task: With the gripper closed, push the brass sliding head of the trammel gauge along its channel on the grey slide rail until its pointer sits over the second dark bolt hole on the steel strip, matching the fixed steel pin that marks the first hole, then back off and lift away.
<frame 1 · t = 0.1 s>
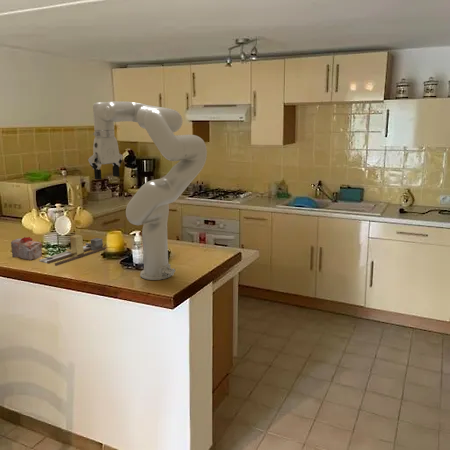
hand: (107, 177, 186), 37 cm above the table, tool pointing down, fingers open, 9 cm apart
grey slide rail: (73, 257, 203), on the table
tow hook: (148, 248, 218), on the table
food item: (27, 259, 202), on the table
sliding head: (73, 245, 202), point 6 cm above the table, slide at 0.0 cm
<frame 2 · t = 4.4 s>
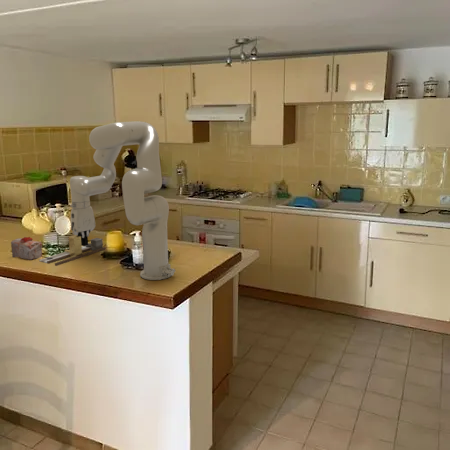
hand: (84, 245, 204), 5 cm above the table, tool pointing down, fingers closed
sliding head: (71, 245, 201), point 6 cm above the table, slide at 0.9 cm, touching gripper
everything else where it was.
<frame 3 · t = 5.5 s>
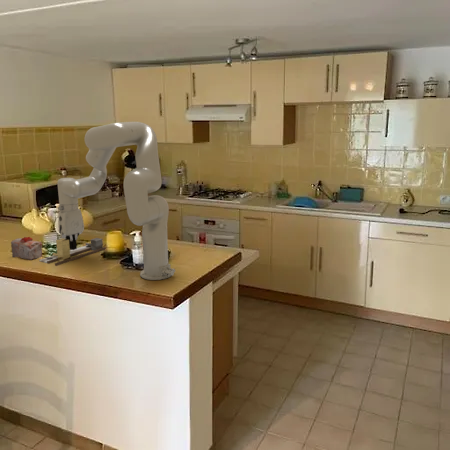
hand: (72, 248, 199), 5 cm above the table, tool pointing down, fingers closed
sliding head: (59, 249, 196), point 6 cm above the table, slide at 7.2 cm, touching gripper
everything else where it was.
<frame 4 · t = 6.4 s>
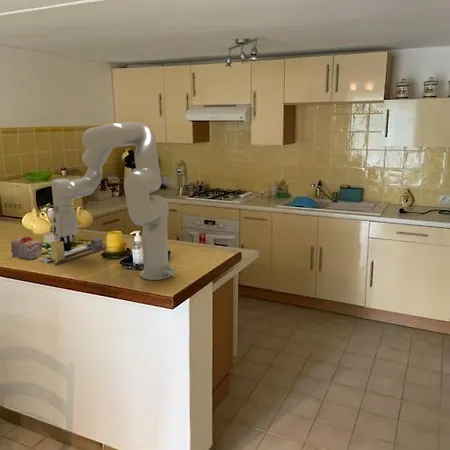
hand: (67, 250, 196), 5 cm above the table, tool pointing down, fingers closed
sliding head: (53, 250, 194), point 6 cm above the table, slide at 10.0 cm, touching gripper
everything else where it was.
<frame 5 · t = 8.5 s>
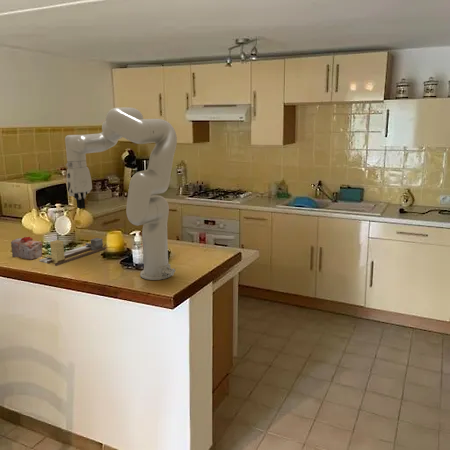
hand: (81, 208, 197), 23 cm above the table, tool pointing down, fingers closed
sliding head: (53, 251, 194), point 6 cm above the table, slide at 10.1 cm
everything else where it was.
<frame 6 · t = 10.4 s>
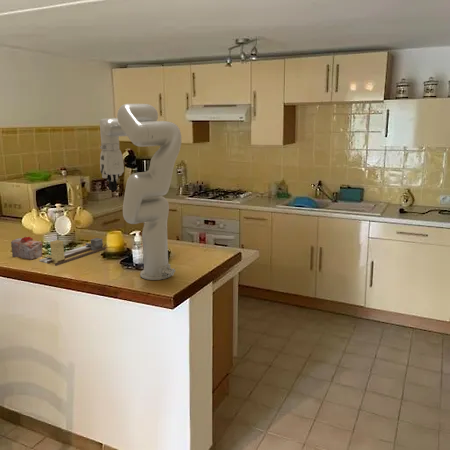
hand: (113, 189, 203), 29 cm above the table, tool pointing down, fingers closed
nothing on the table moved.
at the end: sliding head slide at 10.1 cm; the gripper is holding nothing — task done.
